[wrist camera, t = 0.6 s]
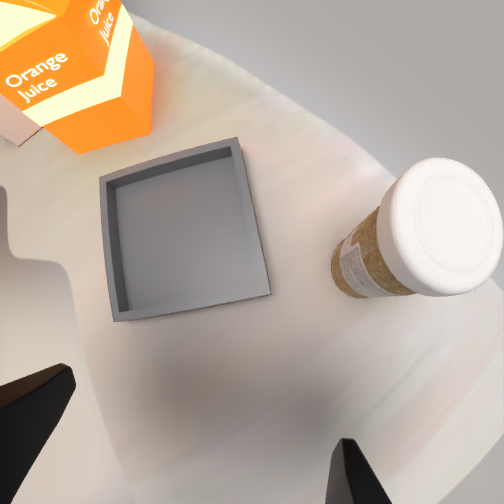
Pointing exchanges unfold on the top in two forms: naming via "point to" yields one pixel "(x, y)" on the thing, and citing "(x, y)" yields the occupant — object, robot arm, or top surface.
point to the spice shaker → (424, 236)
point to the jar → (15, 123)
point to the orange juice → (76, 70)
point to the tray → (181, 233)
